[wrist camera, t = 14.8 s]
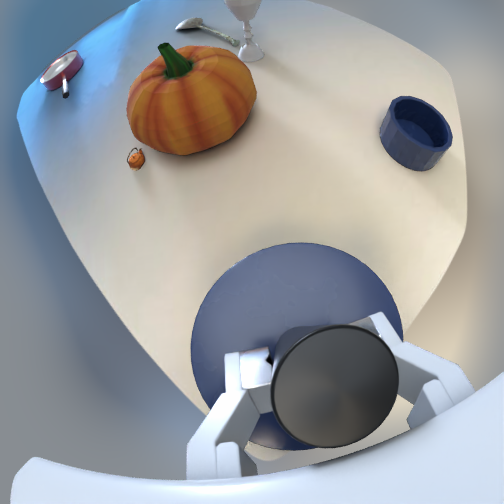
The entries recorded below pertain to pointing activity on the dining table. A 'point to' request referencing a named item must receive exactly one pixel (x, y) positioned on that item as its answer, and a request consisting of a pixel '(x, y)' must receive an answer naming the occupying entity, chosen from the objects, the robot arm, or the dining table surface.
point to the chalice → (246, 27)
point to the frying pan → (62, 72)
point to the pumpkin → (190, 99)
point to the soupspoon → (197, 23)
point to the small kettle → (136, 160)
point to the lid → (302, 343)
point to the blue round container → (415, 133)
